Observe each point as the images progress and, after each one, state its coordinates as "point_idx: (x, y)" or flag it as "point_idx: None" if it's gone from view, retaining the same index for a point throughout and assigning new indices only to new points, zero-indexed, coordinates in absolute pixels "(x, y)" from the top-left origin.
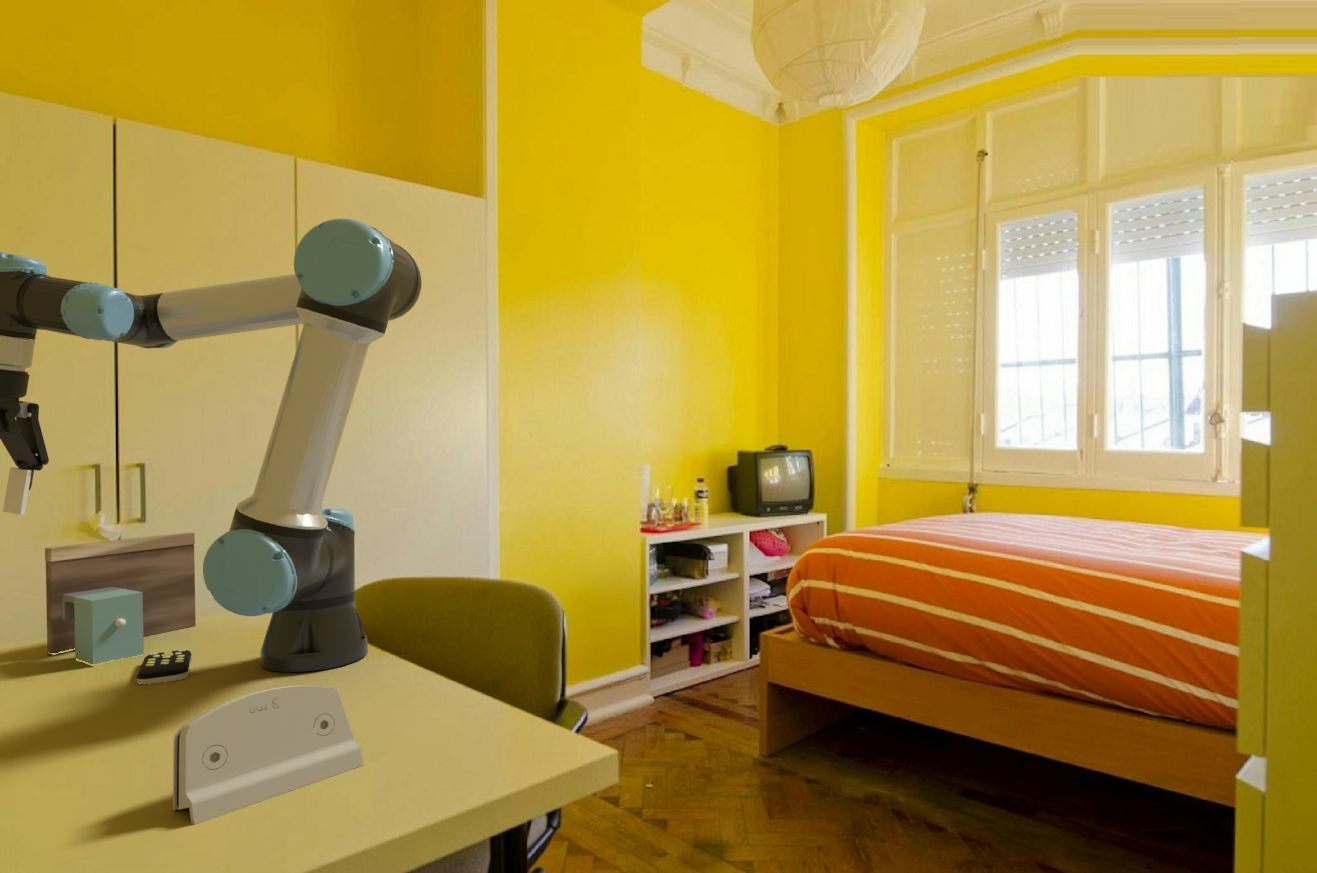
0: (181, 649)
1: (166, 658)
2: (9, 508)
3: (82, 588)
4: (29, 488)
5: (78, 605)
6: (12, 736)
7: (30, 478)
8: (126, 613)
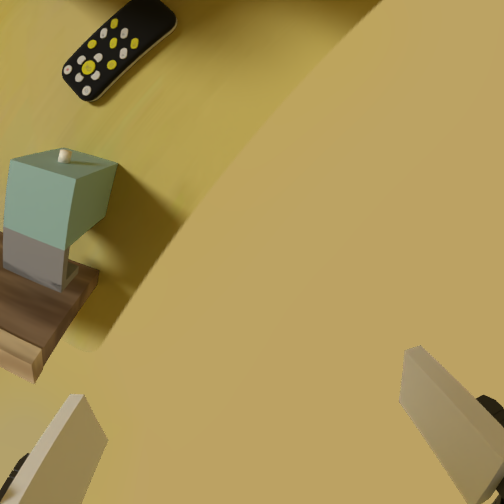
0: (65, 72)
1: (102, 53)
2: (95, 434)
3: (28, 301)
4: (26, 458)
5: (72, 229)
6: (356, 23)
7: (13, 480)
8: (47, 160)
